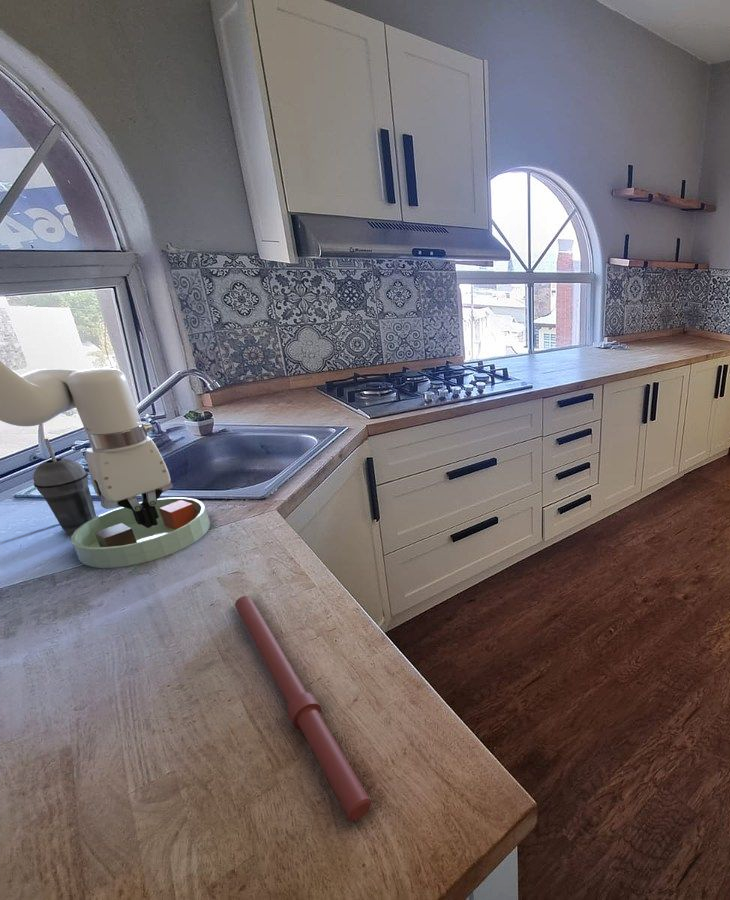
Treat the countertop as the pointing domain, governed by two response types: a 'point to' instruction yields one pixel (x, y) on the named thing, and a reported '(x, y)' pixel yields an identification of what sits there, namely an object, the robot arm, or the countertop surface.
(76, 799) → the countertop surface
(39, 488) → the beverage cup
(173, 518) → the terracotta block
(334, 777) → the rolling pin
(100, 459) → the robot arm
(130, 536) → the walnut block
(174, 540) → the bowl
